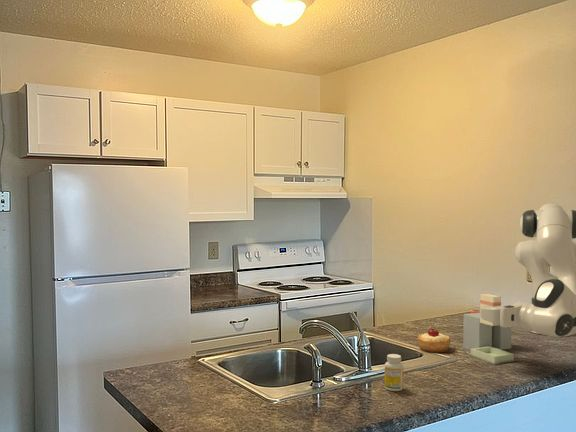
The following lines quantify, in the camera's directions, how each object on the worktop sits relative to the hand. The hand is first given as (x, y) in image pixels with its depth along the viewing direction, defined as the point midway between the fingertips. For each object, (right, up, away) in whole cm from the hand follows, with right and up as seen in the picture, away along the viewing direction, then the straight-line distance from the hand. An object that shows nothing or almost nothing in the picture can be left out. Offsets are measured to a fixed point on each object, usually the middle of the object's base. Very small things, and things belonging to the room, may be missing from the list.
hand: (490, 308), depth 189 cm
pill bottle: (+4, -17, +28) cm, 33 cm away
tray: (0, -18, 0) cm, 18 cm away
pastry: (-17, -18, +12) cm, 27 cm away
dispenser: (+4, -17, +13) cm, 22 cm away
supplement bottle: (-40, -18, -32) cm, 54 cm away
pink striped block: (0, -6, 0) cm, 6 cm away
